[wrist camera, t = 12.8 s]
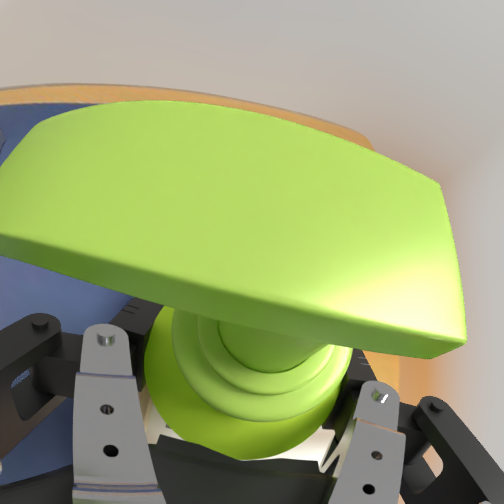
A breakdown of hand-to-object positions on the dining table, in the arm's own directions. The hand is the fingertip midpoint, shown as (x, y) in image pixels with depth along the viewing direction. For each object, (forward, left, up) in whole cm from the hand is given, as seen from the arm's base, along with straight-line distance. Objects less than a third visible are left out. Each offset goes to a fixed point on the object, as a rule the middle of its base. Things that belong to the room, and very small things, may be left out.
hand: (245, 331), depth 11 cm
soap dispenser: (+2, 0, -10) cm, 11 cm away
